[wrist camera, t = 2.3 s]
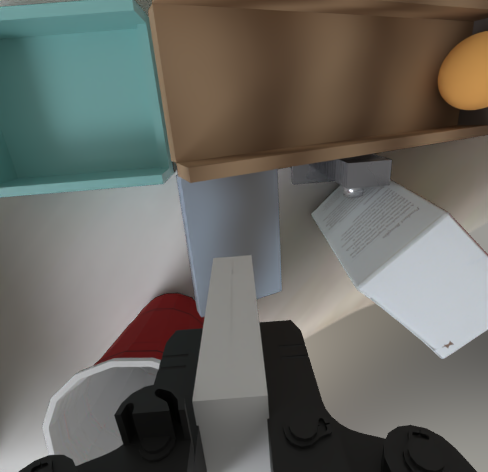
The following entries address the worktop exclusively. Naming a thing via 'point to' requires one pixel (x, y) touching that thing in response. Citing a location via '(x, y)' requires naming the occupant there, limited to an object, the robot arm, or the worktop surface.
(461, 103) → the ball
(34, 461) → the robot arm
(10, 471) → the worktop surface
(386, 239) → the small box
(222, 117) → the lever
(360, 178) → the stand
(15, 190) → the tray
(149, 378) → the plastic cup
